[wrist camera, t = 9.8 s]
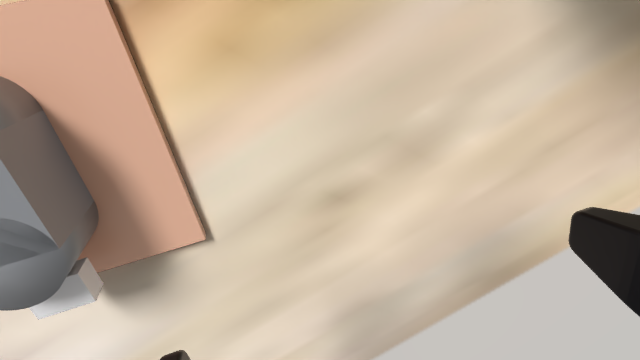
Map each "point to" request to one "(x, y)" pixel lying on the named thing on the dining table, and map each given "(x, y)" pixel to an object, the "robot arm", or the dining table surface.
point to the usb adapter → (41, 213)
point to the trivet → (101, 125)
